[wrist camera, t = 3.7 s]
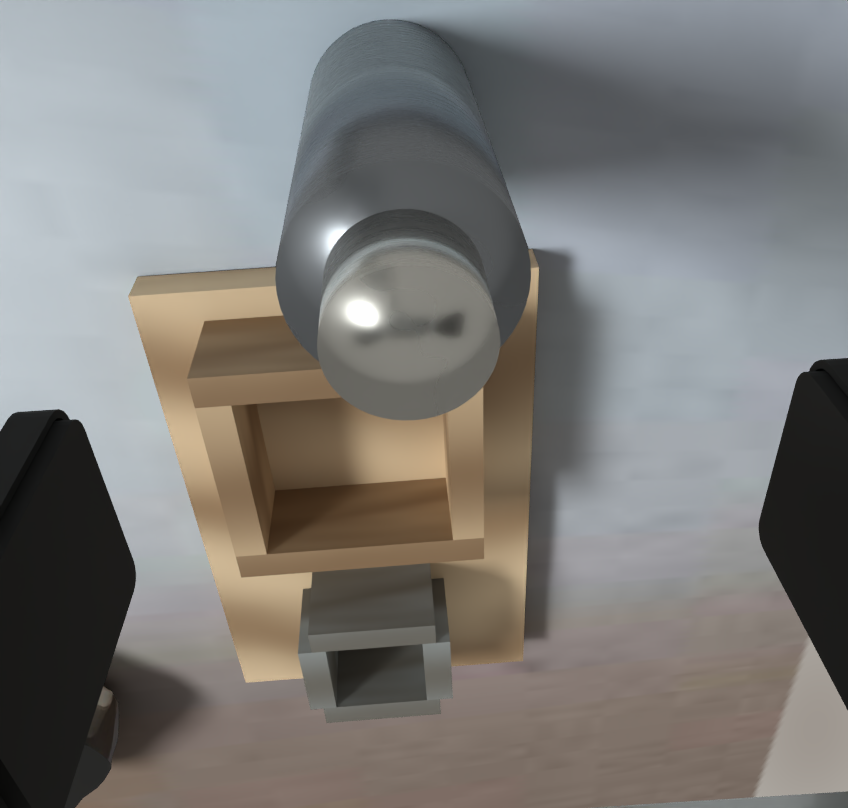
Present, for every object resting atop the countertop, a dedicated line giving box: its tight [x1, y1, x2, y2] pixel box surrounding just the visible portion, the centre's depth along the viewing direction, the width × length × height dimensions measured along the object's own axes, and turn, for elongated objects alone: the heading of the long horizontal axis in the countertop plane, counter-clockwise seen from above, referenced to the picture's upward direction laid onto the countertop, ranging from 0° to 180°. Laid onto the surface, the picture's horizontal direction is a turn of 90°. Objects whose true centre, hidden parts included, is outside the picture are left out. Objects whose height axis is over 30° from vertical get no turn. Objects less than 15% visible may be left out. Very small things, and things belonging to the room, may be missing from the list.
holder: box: [128, 249, 539, 723], centre depth 29 cm, size 19×12×4 cm, turn 3°
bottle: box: [275, 20, 531, 421], centre depth 17 cm, size 4×4×12 cm
